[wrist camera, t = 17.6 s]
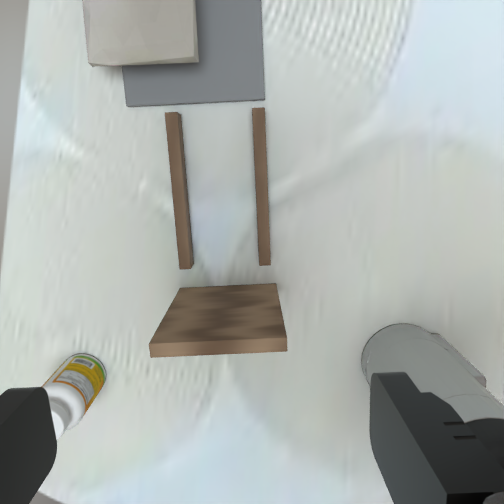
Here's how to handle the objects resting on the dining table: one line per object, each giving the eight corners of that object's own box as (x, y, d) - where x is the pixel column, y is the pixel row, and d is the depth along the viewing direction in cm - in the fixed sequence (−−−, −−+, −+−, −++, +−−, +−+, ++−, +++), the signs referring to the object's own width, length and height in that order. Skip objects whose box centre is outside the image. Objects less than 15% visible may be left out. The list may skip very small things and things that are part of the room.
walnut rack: (269, 110, 40) (279, 84, 27) (276, 293, 45) (287, 351, 31) (163, 115, 40) (119, 92, 27) (181, 297, 45) (150, 357, 31)
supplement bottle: (74, 398, 48) (31, 457, 38) (54, 361, 47) (4, 412, 37) (114, 384, 47) (80, 440, 38) (94, 346, 46) (54, 394, 37)
